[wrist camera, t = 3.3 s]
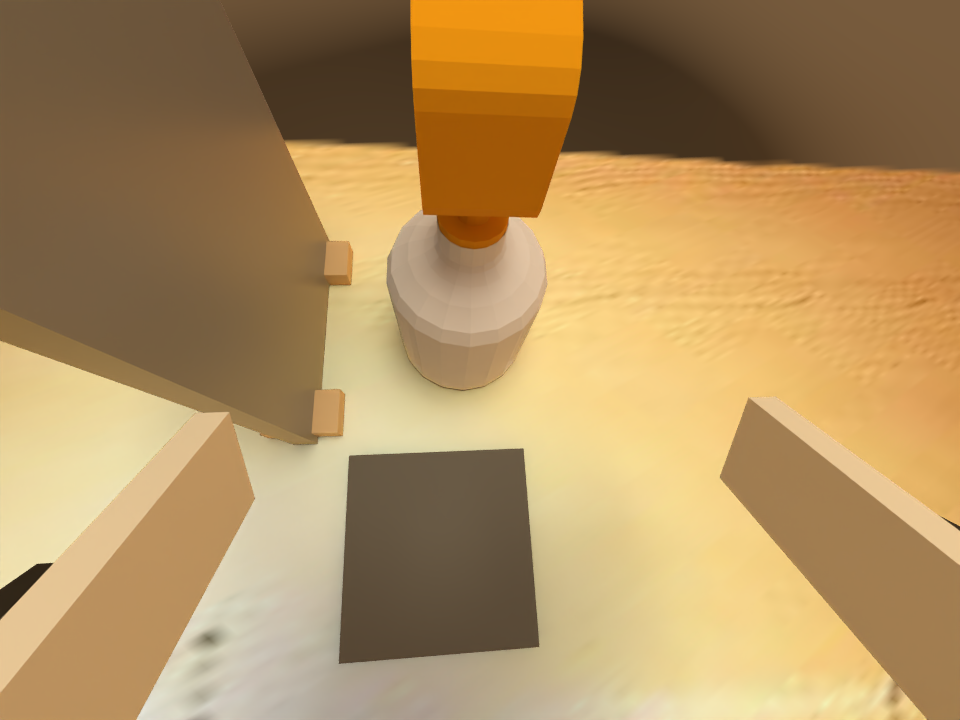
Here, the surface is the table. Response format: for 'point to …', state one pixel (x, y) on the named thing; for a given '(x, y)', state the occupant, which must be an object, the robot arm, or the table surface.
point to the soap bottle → (481, 178)
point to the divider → (160, 214)
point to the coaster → (437, 556)
